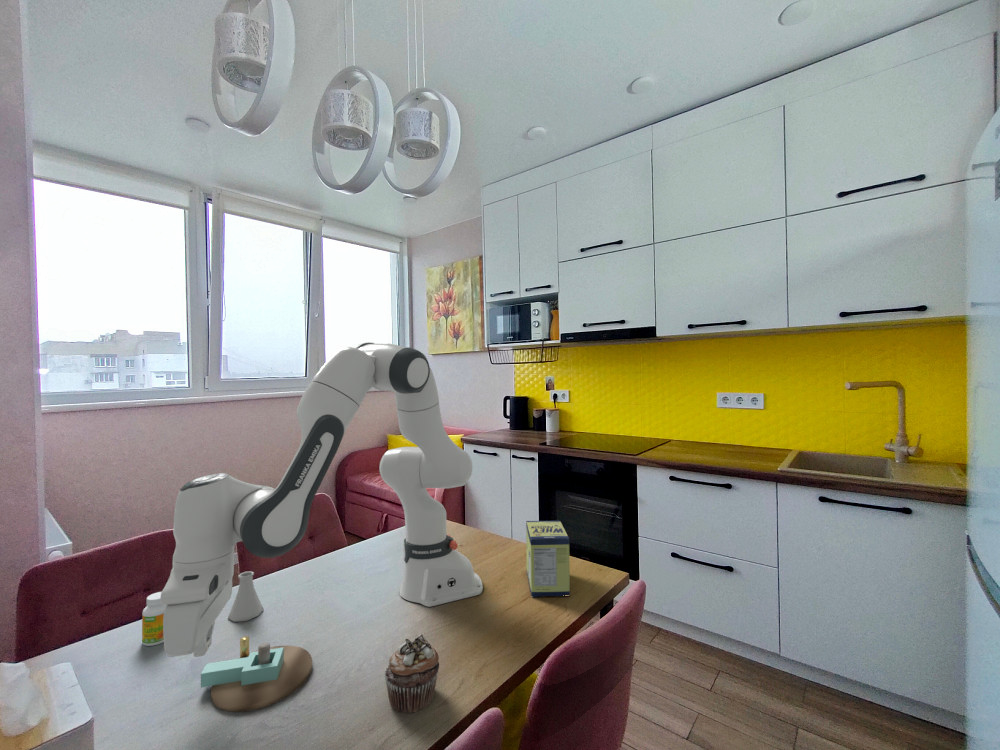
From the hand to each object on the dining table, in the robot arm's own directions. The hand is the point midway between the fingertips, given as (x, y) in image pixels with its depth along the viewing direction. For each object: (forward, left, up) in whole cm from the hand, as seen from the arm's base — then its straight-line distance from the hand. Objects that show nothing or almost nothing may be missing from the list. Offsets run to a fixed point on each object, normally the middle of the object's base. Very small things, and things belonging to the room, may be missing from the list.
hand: (202, 651), depth 75 cm
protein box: (-75, -28, -11) cm, 81 cm away
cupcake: (-35, +6, -11) cm, 37 cm away
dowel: (-3, -13, -9) cm, 16 cm away
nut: (-4, -7, -9) cm, 12 cm away
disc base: (-8, -7, -11) cm, 15 cm away
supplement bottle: (+18, -28, -11) cm, 35 cm away
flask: (+2, -34, -11) cm, 36 cm away
